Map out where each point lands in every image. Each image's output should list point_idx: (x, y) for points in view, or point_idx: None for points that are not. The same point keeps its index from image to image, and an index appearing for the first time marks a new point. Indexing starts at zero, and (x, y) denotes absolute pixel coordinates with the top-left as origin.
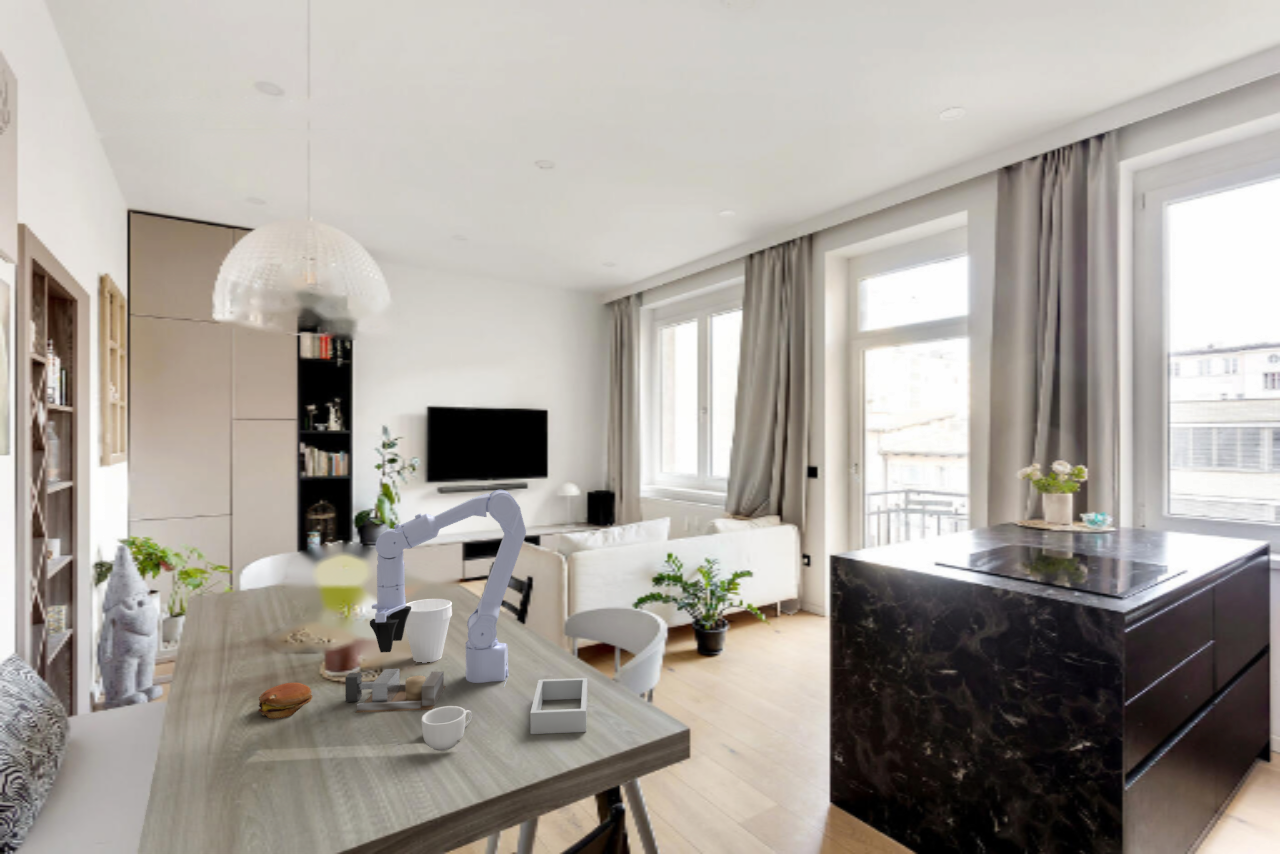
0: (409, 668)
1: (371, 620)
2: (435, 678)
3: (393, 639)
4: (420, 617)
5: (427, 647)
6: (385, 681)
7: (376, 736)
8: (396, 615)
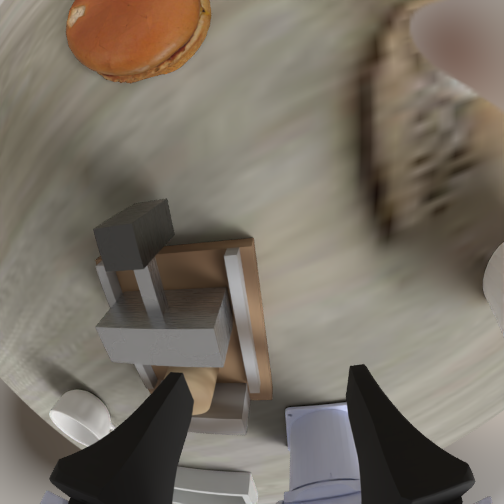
0: (459, 251)
1: (67, 488)
2: (197, 428)
3: (350, 377)
4: None
5: (498, 312)
6: (118, 355)
7: (68, 318)
8: (373, 498)
